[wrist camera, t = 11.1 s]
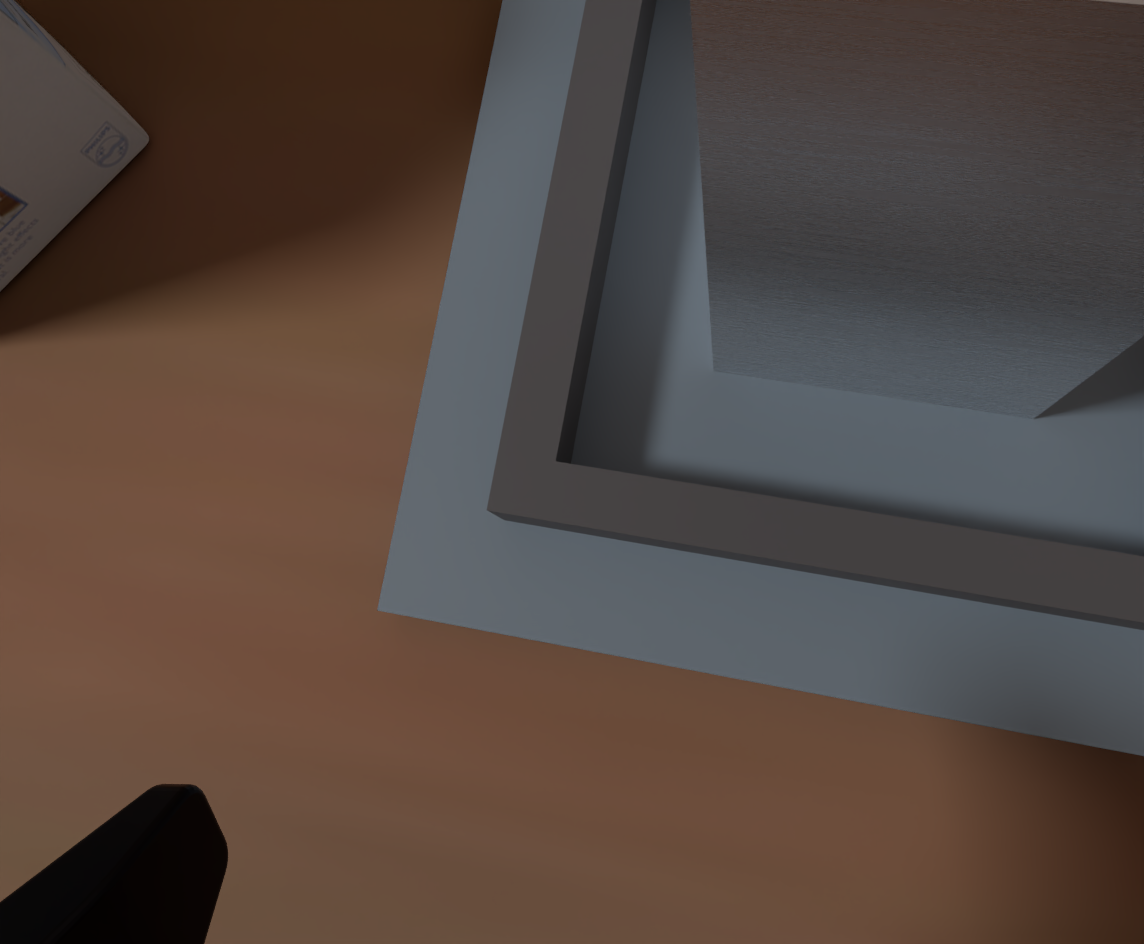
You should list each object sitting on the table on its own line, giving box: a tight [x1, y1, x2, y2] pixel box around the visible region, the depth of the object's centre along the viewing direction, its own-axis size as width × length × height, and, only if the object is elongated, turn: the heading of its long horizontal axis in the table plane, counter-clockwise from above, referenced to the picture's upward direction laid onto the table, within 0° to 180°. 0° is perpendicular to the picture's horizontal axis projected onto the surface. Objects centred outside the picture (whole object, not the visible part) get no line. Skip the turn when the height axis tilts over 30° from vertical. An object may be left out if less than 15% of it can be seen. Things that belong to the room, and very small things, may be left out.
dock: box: [377, 0, 1144, 756], centre depth 19 cm, size 16×16×3 cm
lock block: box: [690, 0, 1144, 419], centre depth 14 cm, size 6×6×12 cm
